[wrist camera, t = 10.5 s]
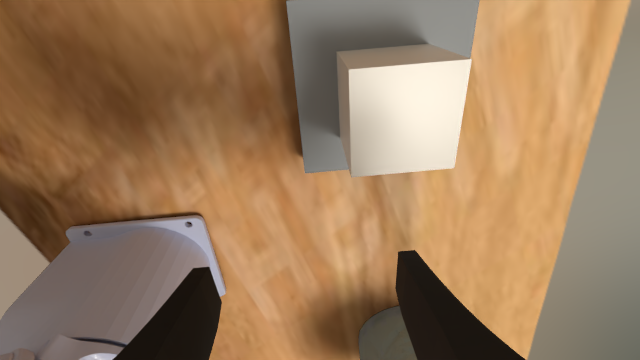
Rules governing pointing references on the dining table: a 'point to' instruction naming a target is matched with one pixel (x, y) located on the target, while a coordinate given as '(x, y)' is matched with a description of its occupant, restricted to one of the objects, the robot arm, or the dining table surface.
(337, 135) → the stud block
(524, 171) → the dining table surface
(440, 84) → the cream colored cube
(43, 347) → the robot arm
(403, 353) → the teal cup
